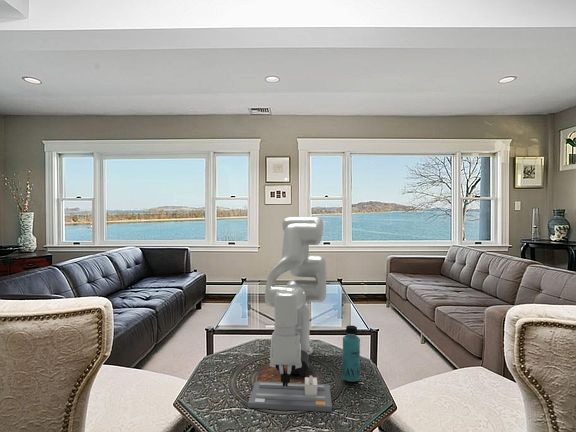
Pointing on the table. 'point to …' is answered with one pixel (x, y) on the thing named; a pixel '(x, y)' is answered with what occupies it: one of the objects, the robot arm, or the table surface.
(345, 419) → the table surface
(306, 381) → the knob
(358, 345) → the beverage bottle
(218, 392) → the table surface
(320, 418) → the table surface
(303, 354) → the end cap
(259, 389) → the breaker panel
